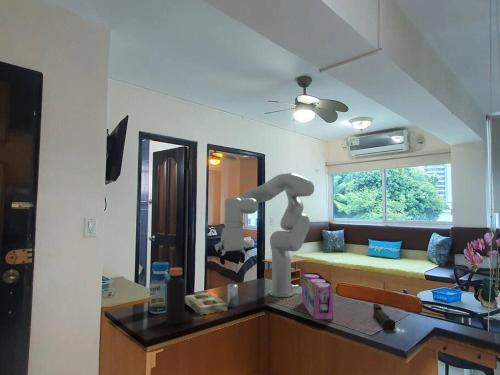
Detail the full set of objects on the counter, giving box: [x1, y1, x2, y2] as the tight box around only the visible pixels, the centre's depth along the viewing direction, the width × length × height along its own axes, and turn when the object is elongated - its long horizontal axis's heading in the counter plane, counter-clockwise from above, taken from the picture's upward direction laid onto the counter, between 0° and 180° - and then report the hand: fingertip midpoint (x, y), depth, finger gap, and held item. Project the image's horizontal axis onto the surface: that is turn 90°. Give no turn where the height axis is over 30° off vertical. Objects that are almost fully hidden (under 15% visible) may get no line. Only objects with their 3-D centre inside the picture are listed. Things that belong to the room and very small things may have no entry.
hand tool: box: [372, 303, 396, 331], centre depth 122 cm, size 19×4×5 cm, turn 172°
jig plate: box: [184, 292, 228, 316], centre depth 140 cm, size 12×20×3 cm, turn 30°
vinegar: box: [165, 267, 186, 326], centre depth 122 cm, size 7×7×20 cm
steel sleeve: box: [227, 283, 239, 308], centre depth 141 cm, size 4×4×9 cm
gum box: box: [301, 272, 334, 320], centre depth 135 cm, size 24×8×14 cm, turn 3°
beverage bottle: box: [148, 261, 170, 314], centre depth 135 cm, size 8×8×20 cm
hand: (232, 263), depth 142 cm, fingers open, 9 cm apart
